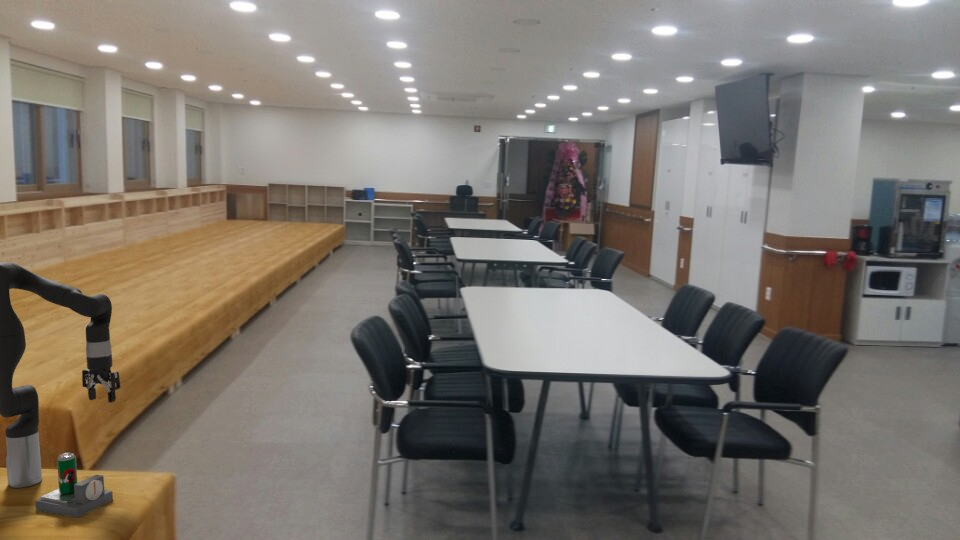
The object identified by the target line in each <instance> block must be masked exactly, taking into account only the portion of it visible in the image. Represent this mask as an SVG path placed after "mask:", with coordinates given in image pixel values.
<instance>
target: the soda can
mask: <svg viewBox="0 0 960 540" xmlns="http://www.w3.org/2000/svg"><path fill="white" fill-rule="evenodd" d="M56 463H57V466H56V467H57V477H58V478H57V479H58V489H59V492H60V493H61V494H71V493H74V492H75V491H74V484H76V483H78V482H79V481H78V469H77V457H76V455H75V453H73V452H65V453H60V454H59V455H58V457H57V460H56Z"/></svg>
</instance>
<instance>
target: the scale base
mask: <svg viewBox="0 0 960 540" xmlns="http://www.w3.org/2000/svg"><path fill="white" fill-rule="evenodd" d="M104 478H105V477H104V475H102V474H94V475H92V476H90V477H87V478H85V479H83V480H81V481H77V482H78V483H76V484H74V491H75V501H74V502H72V503H70V504H68V505H67V504H61V503H56V502H50V501H44V500H41V499H40V498H39V499H37V500H35V501H34V502H35V503H34V504H35V511H38V512H39V511H40V512H45V513H50V514H55V515H59V516H60V515H61V516H65V515H67V516H66V517H72V518H80V517H82V516H84V515H86V514H88V513H90V512H92V511H93V510H96V509H97V508H99V507H102V506H105V505H106V504H108V503H110V502H112V501H113V500H114V497H113V494H114V493H113V490H110V489H109V490H108V489H105V480H104Z"/></svg>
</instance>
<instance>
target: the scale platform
mask: <svg viewBox="0 0 960 540" xmlns="http://www.w3.org/2000/svg"><path fill="white" fill-rule="evenodd" d="M39 499H41V500H44V501H50V502H56V503H61V504H67V505H68V504H70V503H72V502H74V501H75V492H74V493H71V494H61V493H60V492H59V488H57V489H55V490H52V491H51V492H48V493H45V494H44V495H41V496H39Z"/></svg>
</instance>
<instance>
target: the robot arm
mask: <svg viewBox="0 0 960 540" xmlns="http://www.w3.org/2000/svg"><path fill="white" fill-rule="evenodd" d="M12 289H15V290H21V291H26V292H30V293H33V294H36V295H38V296H39V297H40V298H41V299H43V300H45V301H46V302H49V303H51V304H53V305H56V306H61V307H64V308H67V309H69V310H71V311H72V312H75V313H76V314H79V315H80V316H83V317H85V318H90V321H89V323H88V324H87V325H86V326H85V354H86V355H85V356H86V369H82V371H81V374H82V375H81V376H82V377H81V378H82V379H81V380H82V381H81V382H82V387H83V388H86V390H87V394H88V399H89V401H95V400H96V399H97V389H96V386H97V385H98V384H99V385H102V386H103V387H104V388H106V390H107V401H108V402H107V403H114V402H115V401H116V399H117V397H116V391H117V390H120V389H121V381H120V372H119V371H118V370H117V371H114V372H113V371H112V370H111V368H112V367H113V352H112V351H113V350H112V344H111V335H110V332H111V331H110V324H111V319H112V311H113V304H112V301H111V299H110V297H109V296H108V295H106V294H103V293H98V294H94V295H87V294H84V293H83V292H82V290H81V289H79V288H77V287H75V286H71V285H67V284H65V283H61V282H59V281H55V280H52V279H50V278H47V277H43V276H41V275H40V274H36V273H34V272H33V271H31V270H28V269H26V268H25V267H23V266H20V265H18V264H17V263H14V262H11V261H2V262H1V261H0V416H1V417H2V418H4V419H5V418H6V419H7V418H12V417H17V416H19V415H20V416H19V417H18V418H17V419H16V420H14V421H13V422H12V423H11V424H9V425H8V426H6V428H5V431H4V432H5V433H4V434H5V439H6V440H5V443H6V453H7V456H6V457H5V462H6V463H5V464H6V476H7V477H6V478H7V485H9V486H10V487H11V488H14V489H19V488H27V487H30V486H34V485H37V484H39V483H40V482H42V481H43V475H42V459H41V450H40V449H41V448H40V446H41V445H40V433H39V425H40V412H39V411H40V409H39V408H40V405H39V404H40V403H39V393H38V391H37V389H36V388H35V387H34V386H33V385H31V384H25V385H21V386H16V387H13V379H14V378H13V377H14V374H15V371H16V369H17V366H18V364H19V363H20V362H21V360H22V357H23V356H24V353H25V350H26V346H27V344H26V335H25V333H26V332H25V328H24V326H23V322H22V321H21V319H20V318H19V317H18V315H17V313H16V312H15V310H14V308H13V305H12V303H11V295H10V294H11V293H10V290H12Z"/></svg>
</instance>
